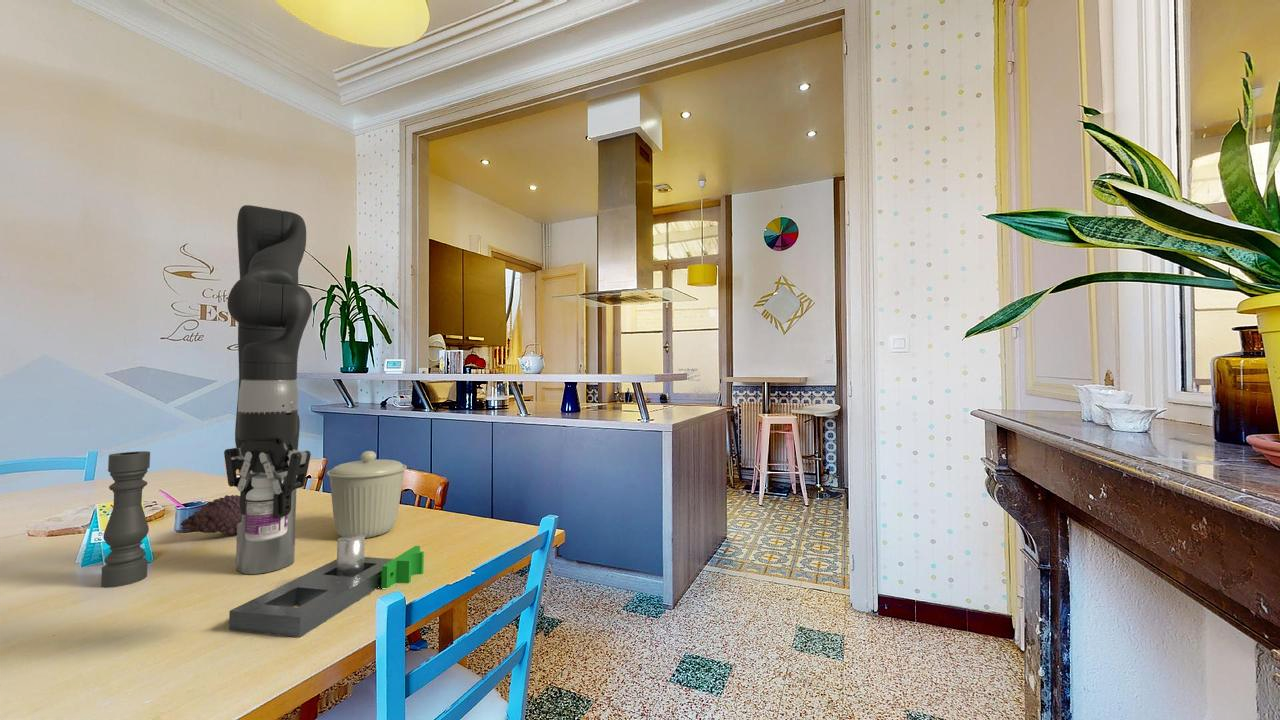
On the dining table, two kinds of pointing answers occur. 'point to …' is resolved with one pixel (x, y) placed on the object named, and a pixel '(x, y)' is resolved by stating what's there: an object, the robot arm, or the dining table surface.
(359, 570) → the clear glass cylinder
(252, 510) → the pill bottle
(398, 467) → the canister
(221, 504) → the pine cone
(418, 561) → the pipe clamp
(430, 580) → the dining table surface
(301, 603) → the hole plate
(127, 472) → the candle holder
